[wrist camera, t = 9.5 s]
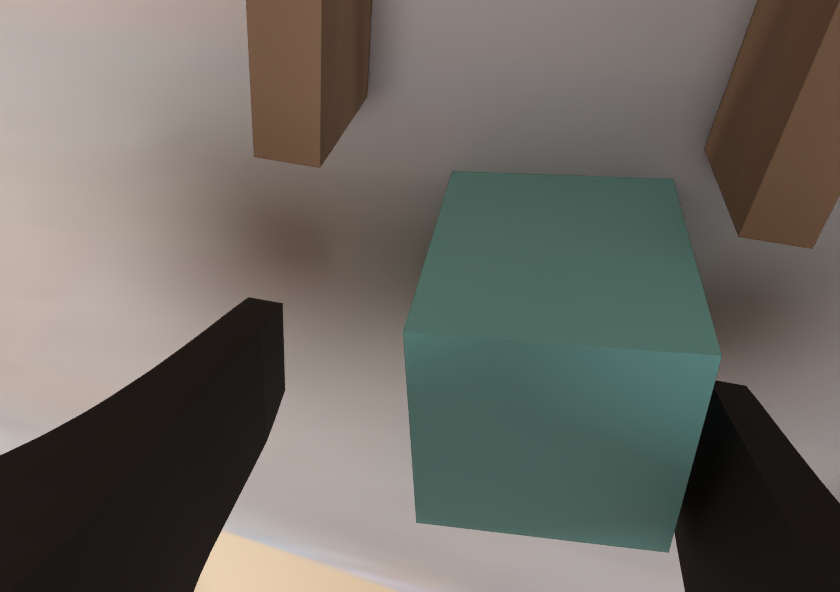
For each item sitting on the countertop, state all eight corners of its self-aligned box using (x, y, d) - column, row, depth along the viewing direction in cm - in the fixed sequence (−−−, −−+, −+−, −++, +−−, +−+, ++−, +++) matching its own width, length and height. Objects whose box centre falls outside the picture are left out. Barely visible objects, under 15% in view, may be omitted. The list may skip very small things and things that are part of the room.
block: (672, 178, 13) (722, 356, 9) (641, 348, 15) (668, 553, 11) (452, 170, 13) (403, 332, 9) (454, 335, 16) (416, 522, 12)
